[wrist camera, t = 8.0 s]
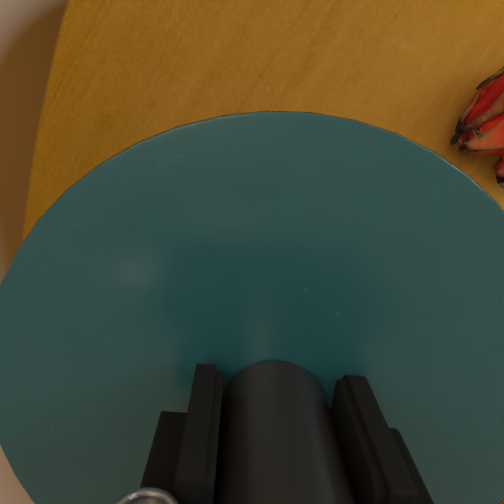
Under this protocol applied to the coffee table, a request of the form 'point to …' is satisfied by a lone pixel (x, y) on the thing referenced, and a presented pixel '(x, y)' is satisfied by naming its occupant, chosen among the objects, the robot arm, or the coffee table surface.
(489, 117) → the dragon fruit
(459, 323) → the lid
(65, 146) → the coffee table surface
